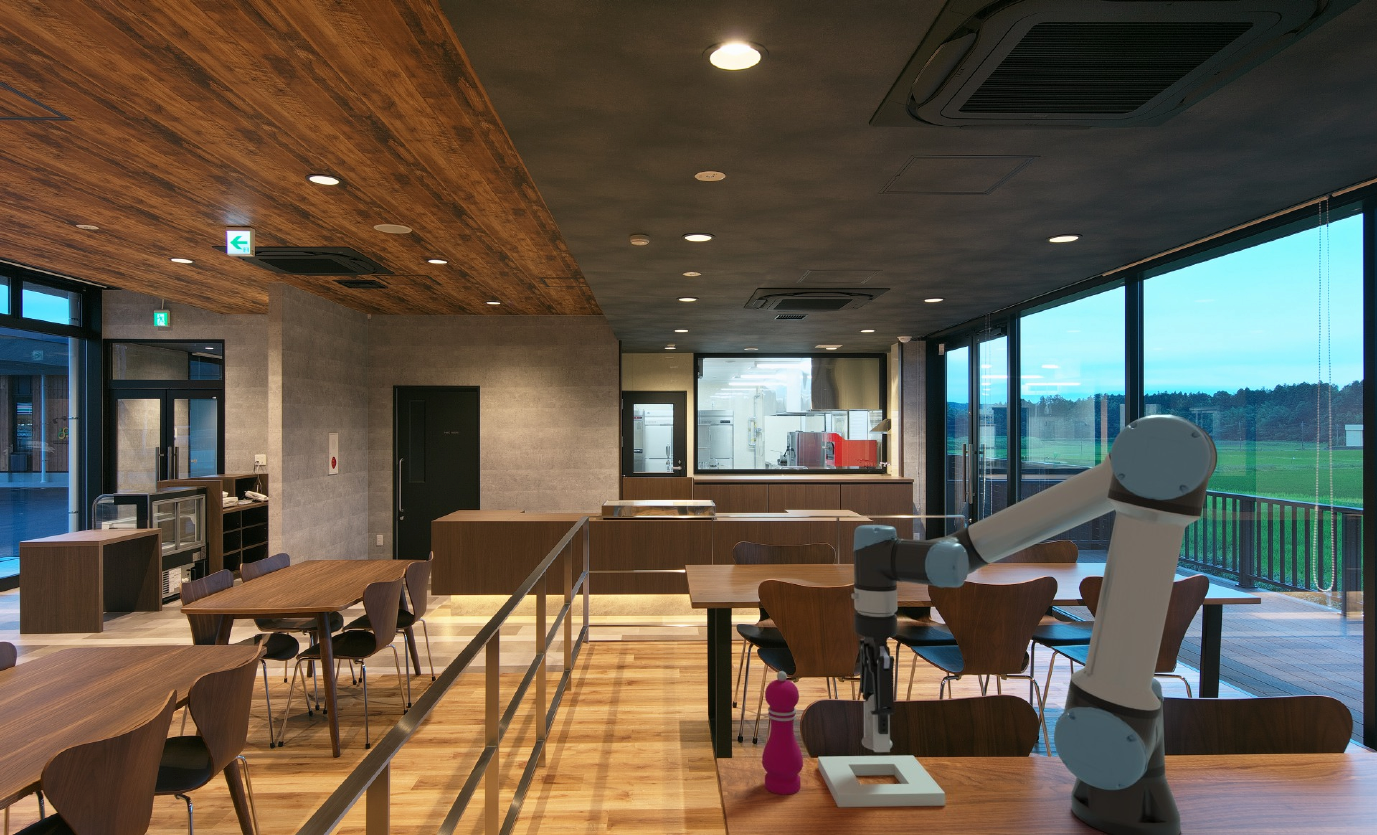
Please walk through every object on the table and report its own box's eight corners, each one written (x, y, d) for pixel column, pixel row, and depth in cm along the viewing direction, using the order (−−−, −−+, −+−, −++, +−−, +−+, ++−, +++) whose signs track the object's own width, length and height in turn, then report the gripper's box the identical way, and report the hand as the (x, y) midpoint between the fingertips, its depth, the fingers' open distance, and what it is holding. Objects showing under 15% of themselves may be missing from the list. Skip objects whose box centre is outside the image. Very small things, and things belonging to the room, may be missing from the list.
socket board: (913, 766, 140) (912, 755, 140) (945, 805, 124) (945, 793, 124) (818, 767, 139) (818, 756, 139) (838, 807, 123) (838, 794, 123)
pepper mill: (802, 779, 134) (801, 666, 135) (804, 797, 127) (803, 677, 128) (762, 777, 135) (761, 665, 136) (762, 795, 128) (761, 676, 129)
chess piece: (898, 747, 131) (898, 695, 132) (878, 754, 128) (878, 701, 129) (875, 738, 136) (875, 687, 136) (855, 744, 133) (854, 693, 133)
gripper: (842, 602, 142) (843, 726, 141) (868, 623, 124) (869, 766, 123) (881, 602, 143) (882, 726, 141) (913, 623, 124) (914, 765, 123)
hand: (876, 744), depth 132 cm, fingers closed on chess piece, 5 cm apart
